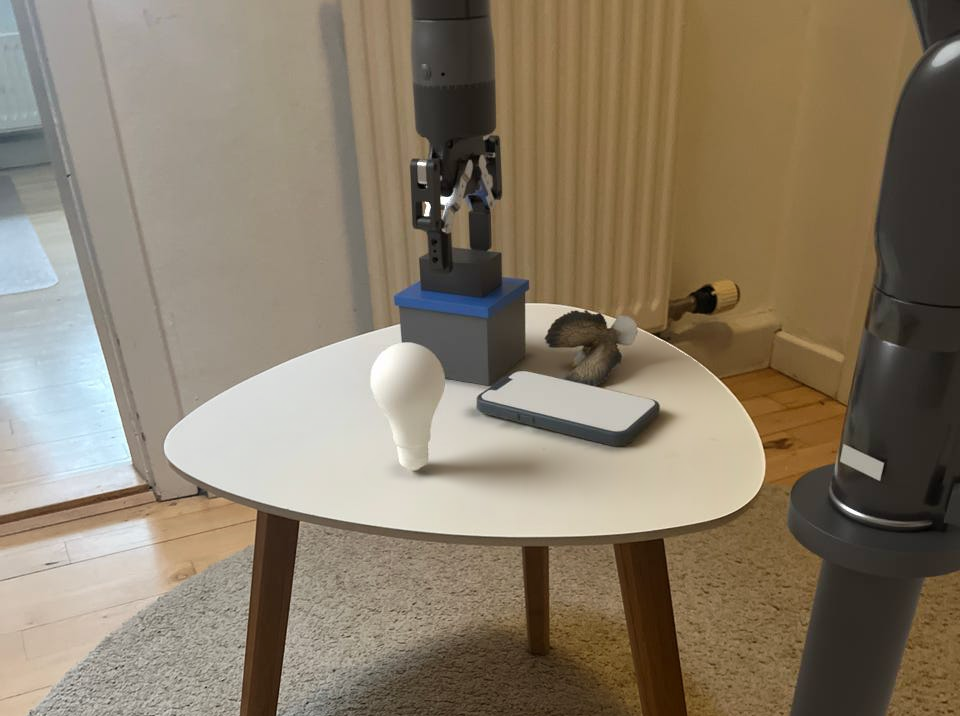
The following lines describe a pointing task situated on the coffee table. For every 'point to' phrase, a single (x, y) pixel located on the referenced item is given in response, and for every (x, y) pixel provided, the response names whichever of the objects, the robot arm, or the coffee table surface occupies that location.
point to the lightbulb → (408, 397)
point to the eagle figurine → (591, 343)
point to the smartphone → (569, 407)
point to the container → (467, 329)
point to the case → (464, 273)
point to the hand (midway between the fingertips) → (461, 260)
